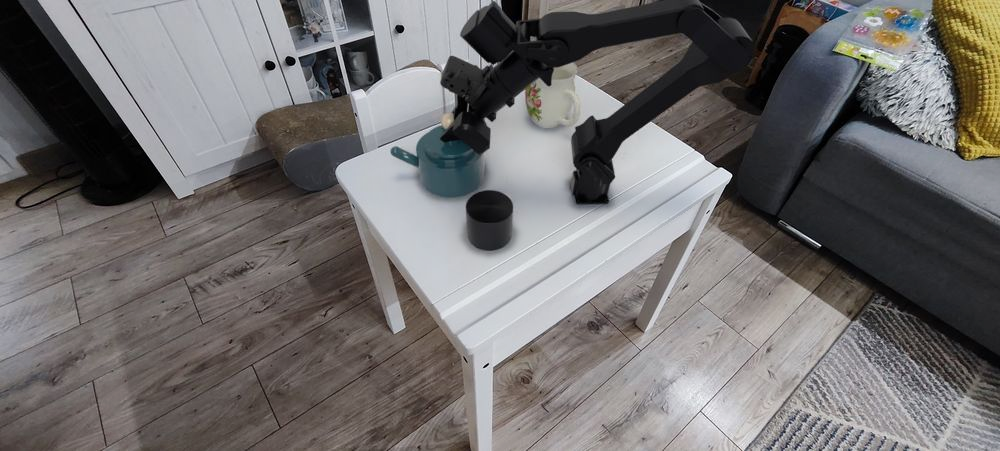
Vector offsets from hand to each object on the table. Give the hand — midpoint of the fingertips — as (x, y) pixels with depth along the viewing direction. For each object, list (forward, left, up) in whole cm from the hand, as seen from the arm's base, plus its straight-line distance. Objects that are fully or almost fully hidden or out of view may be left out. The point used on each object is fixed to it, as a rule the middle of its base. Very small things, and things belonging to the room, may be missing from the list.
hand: (442, 135), depth 81 cm
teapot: (+2, -5, -13) cm, 14 cm away
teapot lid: (-1, 0, -1) cm, 2 cm away
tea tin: (-8, +12, -13) cm, 19 cm away
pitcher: (-23, -22, -13) cm, 34 cm away
